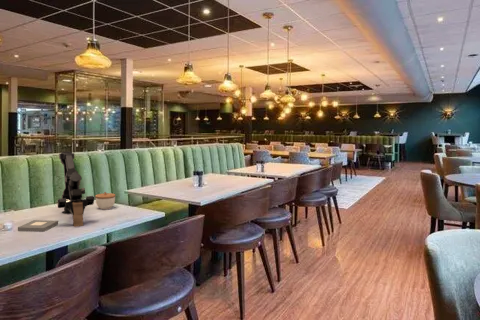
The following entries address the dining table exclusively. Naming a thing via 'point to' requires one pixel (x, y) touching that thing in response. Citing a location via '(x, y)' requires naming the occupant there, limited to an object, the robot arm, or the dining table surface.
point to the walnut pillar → (77, 214)
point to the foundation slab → (38, 225)
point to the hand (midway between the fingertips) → (78, 214)
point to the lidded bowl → (105, 200)
